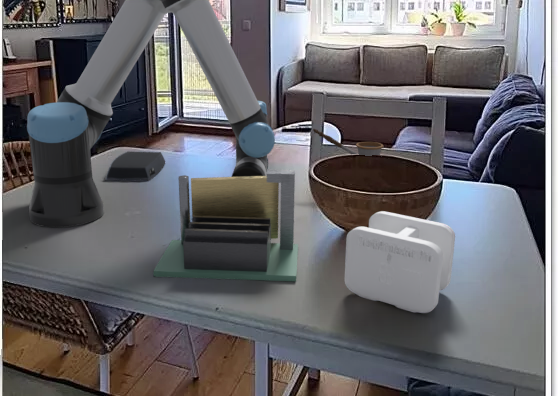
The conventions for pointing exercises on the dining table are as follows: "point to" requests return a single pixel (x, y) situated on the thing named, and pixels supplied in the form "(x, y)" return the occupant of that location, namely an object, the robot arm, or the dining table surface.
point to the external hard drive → (136, 166)
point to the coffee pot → (363, 147)
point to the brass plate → (236, 198)
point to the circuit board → (278, 269)
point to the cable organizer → (400, 261)
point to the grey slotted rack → (235, 232)
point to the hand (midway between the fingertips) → (239, 211)
